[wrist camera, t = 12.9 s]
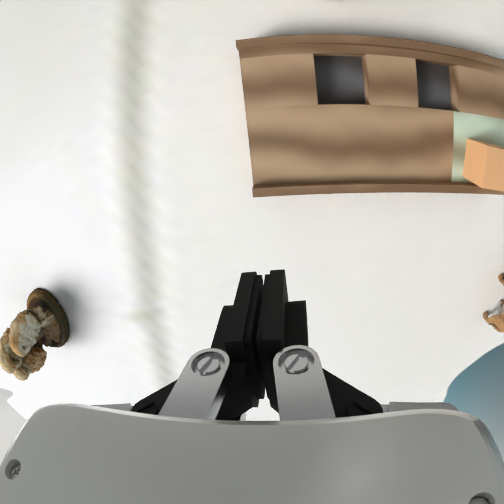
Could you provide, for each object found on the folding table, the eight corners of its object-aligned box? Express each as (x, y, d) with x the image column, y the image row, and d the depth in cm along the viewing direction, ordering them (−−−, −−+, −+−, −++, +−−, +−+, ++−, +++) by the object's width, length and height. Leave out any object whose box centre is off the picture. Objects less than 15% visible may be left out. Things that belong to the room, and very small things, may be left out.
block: (466, 138, 30) (487, 145, 26) (495, 144, 30) (516, 153, 25) (462, 176, 33) (481, 188, 28) (490, 180, 32) (510, 192, 28)
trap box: (241, 46, 32) (235, 40, 28) (491, 62, 27) (509, 62, 23) (256, 186, 40) (253, 197, 36) (490, 184, 35) (506, 194, 31)
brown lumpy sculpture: (71, 355, 62) (37, 408, 47) (34, 333, 61) (-3, 380, 47) (69, 302, 54) (21, 360, 39) (26, 278, 53) (-24, 327, 38)
